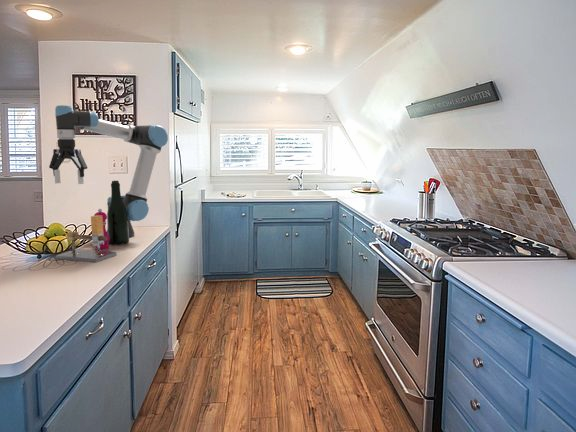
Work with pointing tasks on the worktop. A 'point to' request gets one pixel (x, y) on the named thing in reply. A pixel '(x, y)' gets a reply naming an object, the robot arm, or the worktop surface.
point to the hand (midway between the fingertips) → (69, 183)
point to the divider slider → (97, 230)
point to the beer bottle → (117, 217)
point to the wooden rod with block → (75, 235)
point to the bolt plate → (86, 255)
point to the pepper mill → (105, 245)
